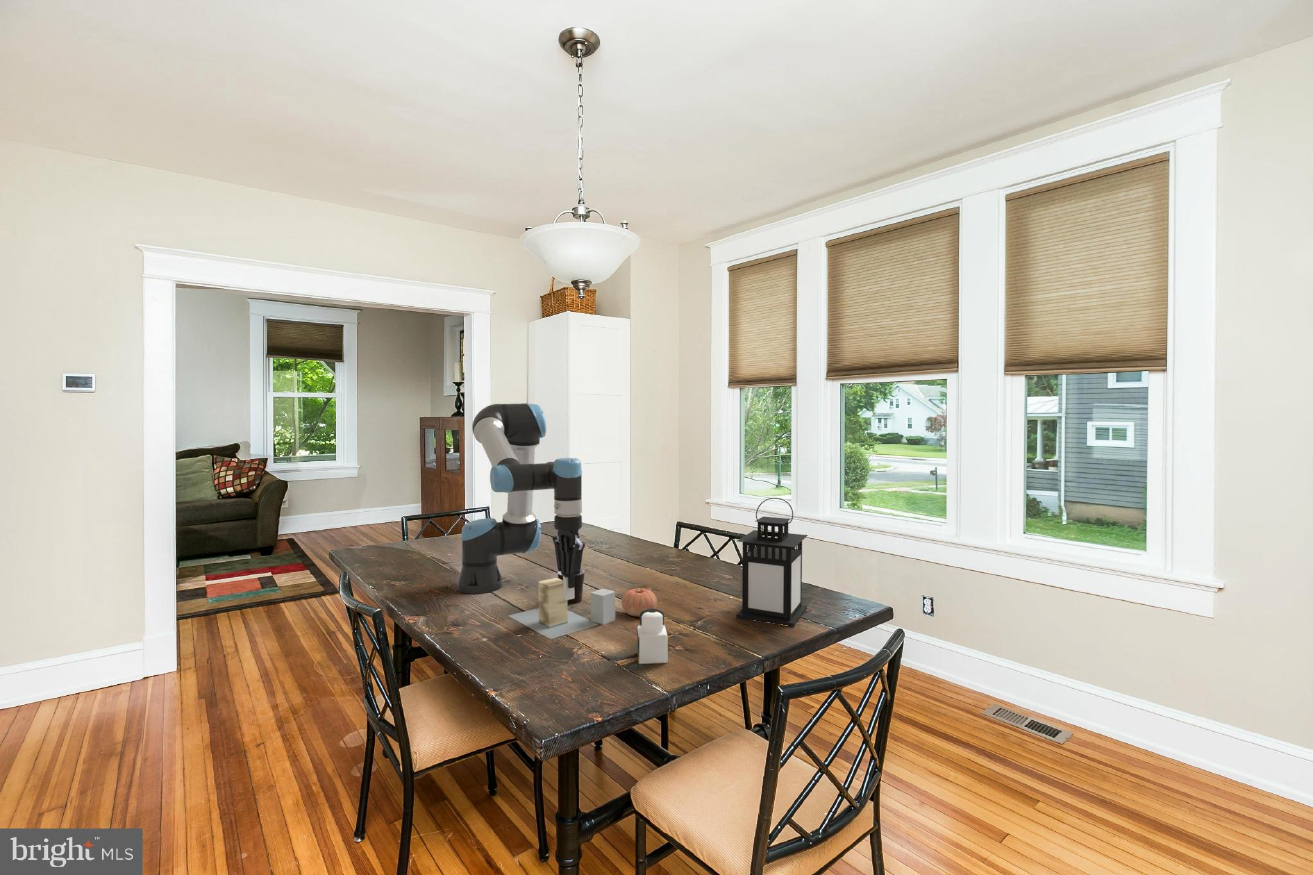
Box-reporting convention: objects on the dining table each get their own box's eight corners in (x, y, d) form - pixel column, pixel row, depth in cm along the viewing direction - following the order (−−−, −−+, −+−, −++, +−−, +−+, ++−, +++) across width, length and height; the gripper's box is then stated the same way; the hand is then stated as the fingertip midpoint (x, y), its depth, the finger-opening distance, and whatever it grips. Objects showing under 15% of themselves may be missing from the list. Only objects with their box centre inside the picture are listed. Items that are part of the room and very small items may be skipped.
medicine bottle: (637, 652, 156) (637, 606, 156) (664, 651, 157) (664, 605, 156) (638, 664, 149) (638, 616, 149) (667, 663, 150) (667, 615, 149)
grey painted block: (591, 622, 178) (590, 592, 177) (602, 618, 182) (602, 588, 181) (603, 626, 175) (603, 595, 174) (615, 621, 178) (615, 591, 178)
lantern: (736, 618, 181) (736, 501, 179) (753, 601, 197) (754, 493, 195) (793, 627, 174) (795, 505, 172) (807, 608, 189) (808, 497, 187)
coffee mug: (579, 607, 191) (579, 576, 190) (553, 606, 192) (553, 574, 192) (591, 596, 202) (590, 566, 201) (566, 594, 204) (566, 565, 203)
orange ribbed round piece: (640, 606, 192) (640, 581, 192) (664, 614, 184) (664, 588, 184) (614, 614, 184) (613, 588, 184) (638, 623, 177) (638, 596, 176)
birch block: (538, 622, 176) (538, 581, 176) (556, 617, 180) (556, 577, 180) (549, 628, 172) (549, 586, 171) (567, 623, 176) (567, 582, 175)
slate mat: (508, 617, 182) (508, 615, 182) (554, 605, 193) (554, 604, 193) (550, 641, 164) (550, 638, 164) (598, 626, 175) (598, 624, 175)
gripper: (543, 512, 170) (544, 595, 172) (569, 519, 161) (570, 607, 162) (566, 509, 175) (567, 590, 177) (593, 516, 166) (593, 601, 167)
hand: (568, 598), depth 169 cm, fingers closed
